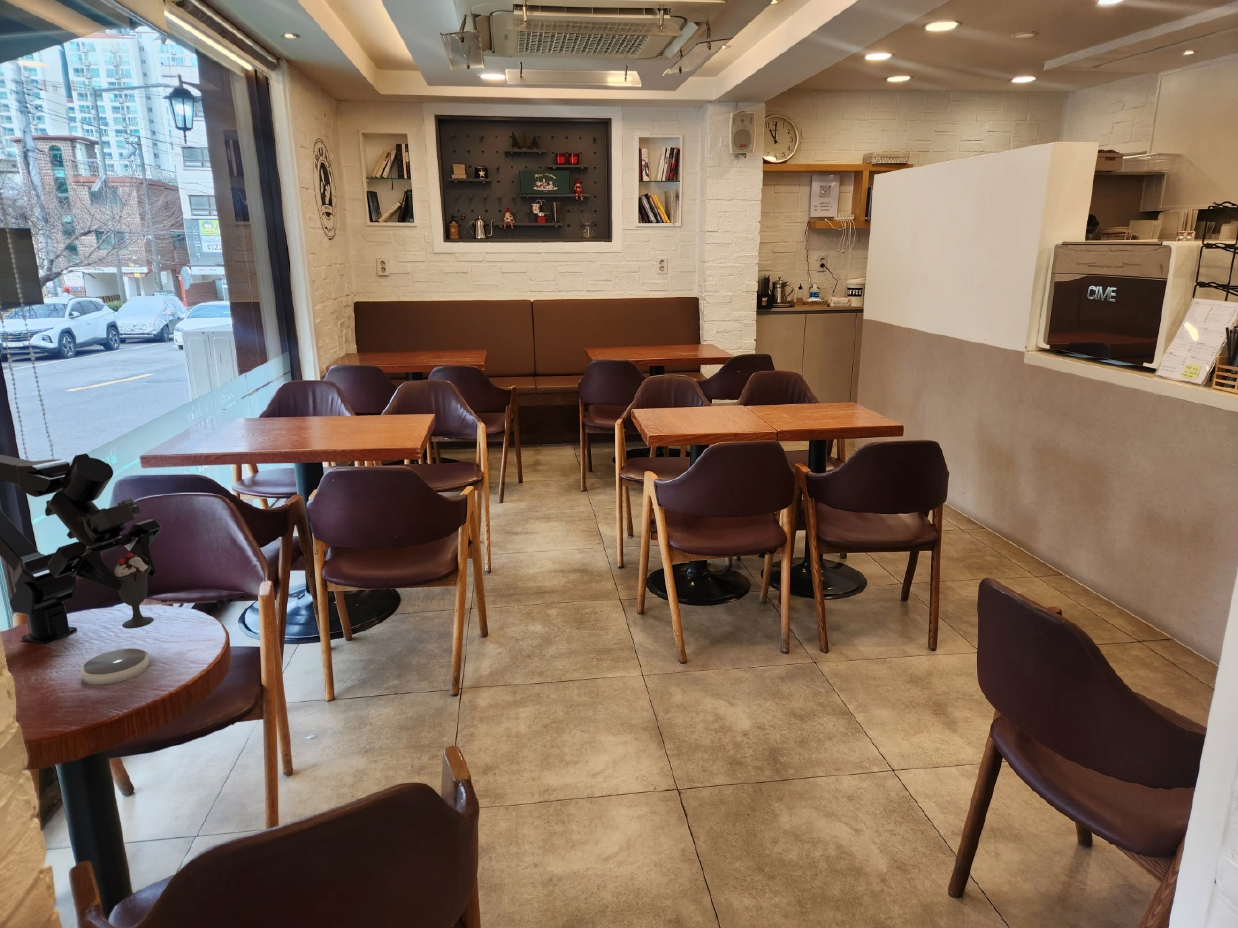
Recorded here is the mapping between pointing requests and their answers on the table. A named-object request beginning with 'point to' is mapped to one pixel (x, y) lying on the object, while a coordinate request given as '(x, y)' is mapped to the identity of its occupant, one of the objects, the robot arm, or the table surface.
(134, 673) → the round mirror
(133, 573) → the sundae
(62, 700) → the table surface
